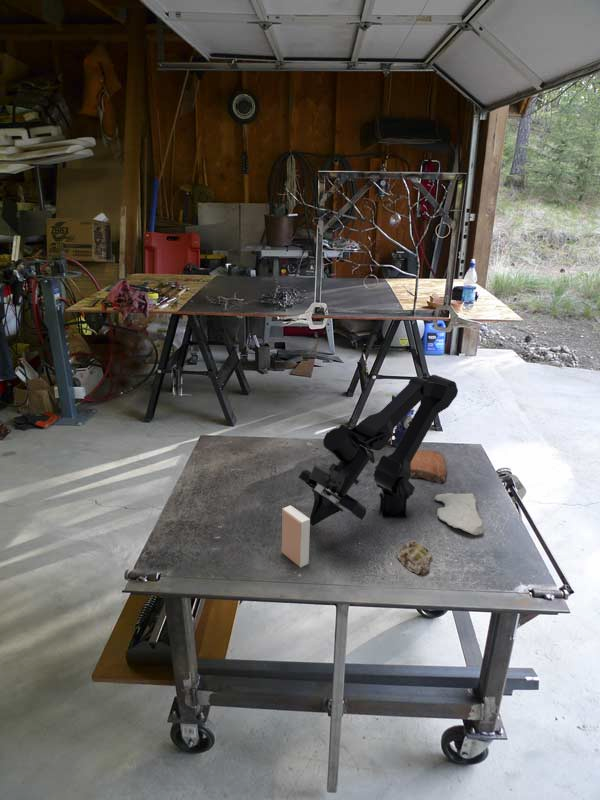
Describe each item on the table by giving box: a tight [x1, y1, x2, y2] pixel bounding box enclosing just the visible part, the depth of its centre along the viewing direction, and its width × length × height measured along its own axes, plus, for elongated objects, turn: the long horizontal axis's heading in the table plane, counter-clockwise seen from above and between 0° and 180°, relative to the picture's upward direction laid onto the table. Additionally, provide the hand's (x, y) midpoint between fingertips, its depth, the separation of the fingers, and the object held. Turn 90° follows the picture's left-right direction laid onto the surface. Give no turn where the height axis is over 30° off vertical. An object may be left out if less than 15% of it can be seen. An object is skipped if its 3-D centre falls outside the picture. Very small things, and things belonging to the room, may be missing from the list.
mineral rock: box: [396, 539, 434, 576], centre depth 138 cm, size 11×4×8 cm
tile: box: [281, 504, 311, 568], centre depth 136 cm, size 2×7×12 cm, turn 39°
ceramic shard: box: [409, 449, 447, 484], centre depth 179 cm, size 15×6×15 cm
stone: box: [433, 492, 484, 536], centre depth 156 cm, size 13×4×20 cm
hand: (310, 524), depth 138 cm, fingers closed
